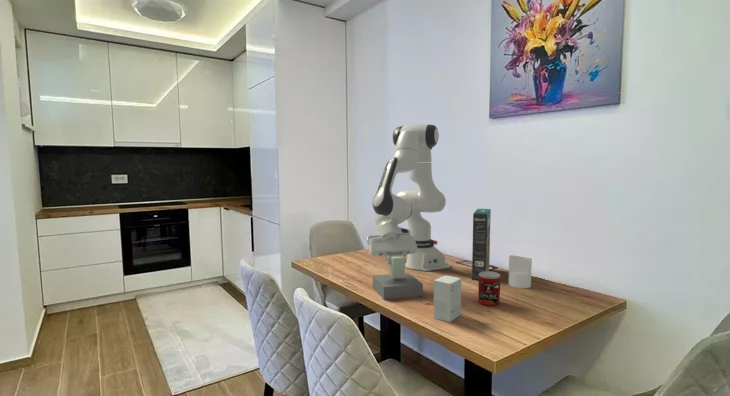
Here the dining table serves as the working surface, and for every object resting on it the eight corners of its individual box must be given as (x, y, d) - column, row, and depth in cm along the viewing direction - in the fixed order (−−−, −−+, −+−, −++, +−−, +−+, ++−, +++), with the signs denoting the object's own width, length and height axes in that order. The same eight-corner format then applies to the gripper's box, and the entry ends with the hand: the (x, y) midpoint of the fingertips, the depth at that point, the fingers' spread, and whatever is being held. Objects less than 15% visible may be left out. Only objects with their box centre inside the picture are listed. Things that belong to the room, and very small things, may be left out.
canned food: (477, 305, 139) (477, 275, 138) (479, 298, 147) (479, 270, 146) (499, 307, 136) (499, 278, 135) (500, 300, 144) (500, 272, 143)
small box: (444, 310, 134) (445, 274, 133) (461, 315, 130) (461, 278, 128) (432, 317, 127) (433, 280, 126) (450, 322, 123) (450, 283, 122)
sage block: (400, 273, 157) (400, 254, 156) (404, 277, 152) (404, 257, 152) (389, 274, 156) (389, 255, 155) (392, 278, 151) (393, 258, 150)
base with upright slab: (534, 284, 163) (534, 257, 162) (526, 289, 157) (527, 261, 156) (513, 280, 169) (514, 254, 168) (504, 285, 163) (505, 257, 162)
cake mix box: (485, 281, 168) (487, 214, 166) (471, 279, 171) (473, 213, 168) (489, 268, 189) (490, 209, 186) (476, 267, 191) (477, 208, 188)
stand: (408, 284, 164) (408, 272, 164) (422, 296, 149) (422, 283, 148) (372, 287, 160) (372, 275, 160) (383, 299, 145) (383, 287, 144)
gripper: (367, 231, 157) (373, 260, 149) (413, 229, 162) (422, 257, 154) (364, 240, 162) (370, 268, 153) (409, 238, 167) (418, 265, 158)
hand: (397, 263), depth 154 cm, fingers closed on sage block, 5 cm apart
